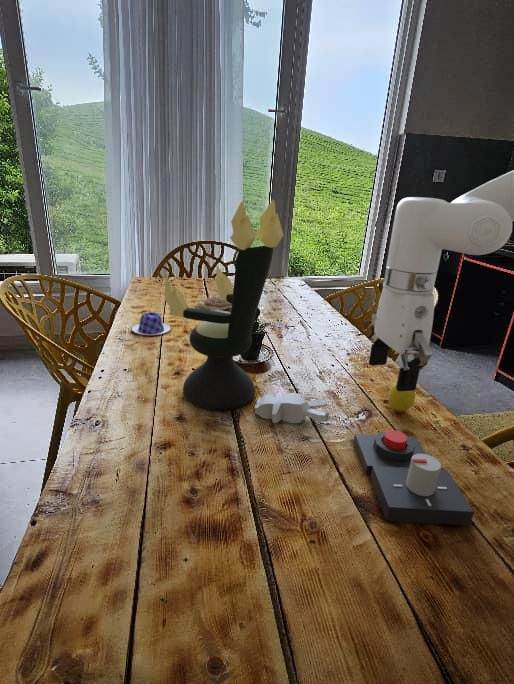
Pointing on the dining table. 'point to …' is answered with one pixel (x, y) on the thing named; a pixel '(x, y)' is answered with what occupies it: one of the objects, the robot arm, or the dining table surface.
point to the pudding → (151, 325)
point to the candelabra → (229, 317)
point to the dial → (423, 474)
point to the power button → (395, 439)
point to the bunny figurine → (289, 408)
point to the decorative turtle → (214, 304)
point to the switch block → (384, 452)
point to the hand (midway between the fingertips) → (390, 376)
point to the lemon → (400, 399)
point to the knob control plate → (419, 499)
